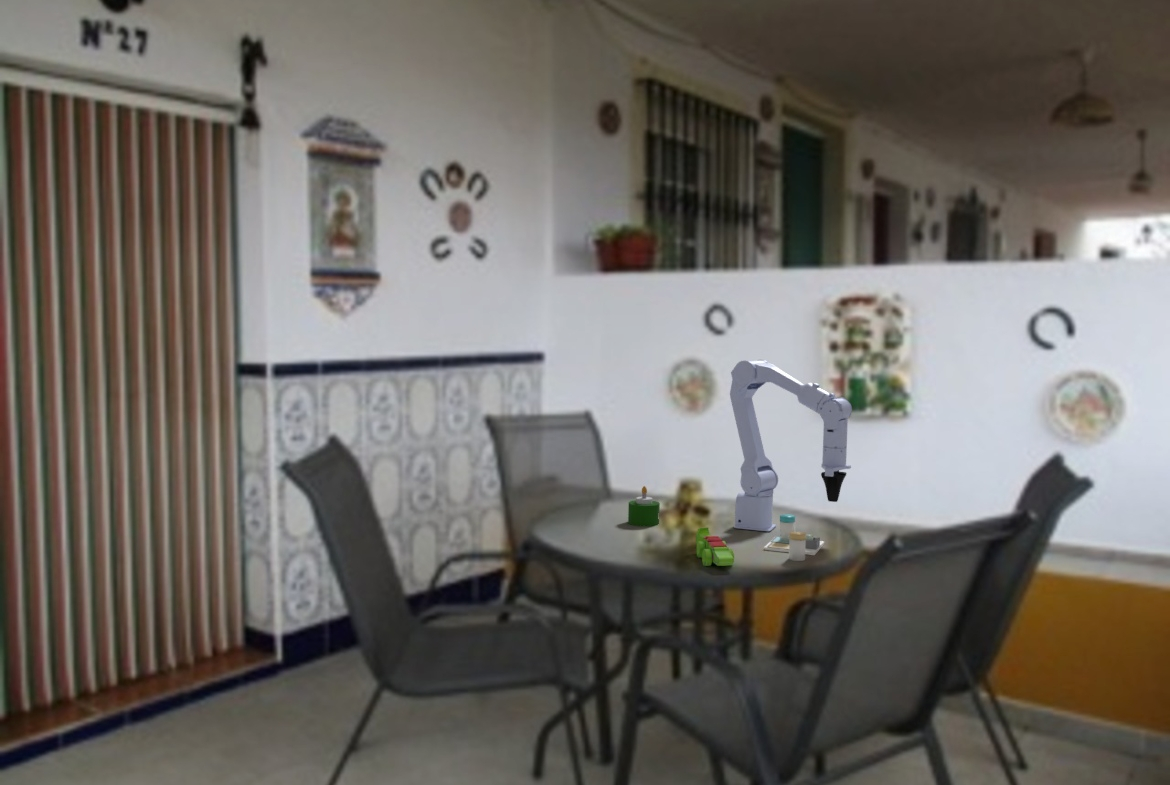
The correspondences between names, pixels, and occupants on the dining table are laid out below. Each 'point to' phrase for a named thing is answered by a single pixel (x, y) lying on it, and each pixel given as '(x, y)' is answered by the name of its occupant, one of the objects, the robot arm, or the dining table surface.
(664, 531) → the dining table surface
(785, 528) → the jar with teal lid
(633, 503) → the candle
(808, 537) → the button
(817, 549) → the picture board
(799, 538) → the jar with tan lid
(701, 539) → the toy crocodile
